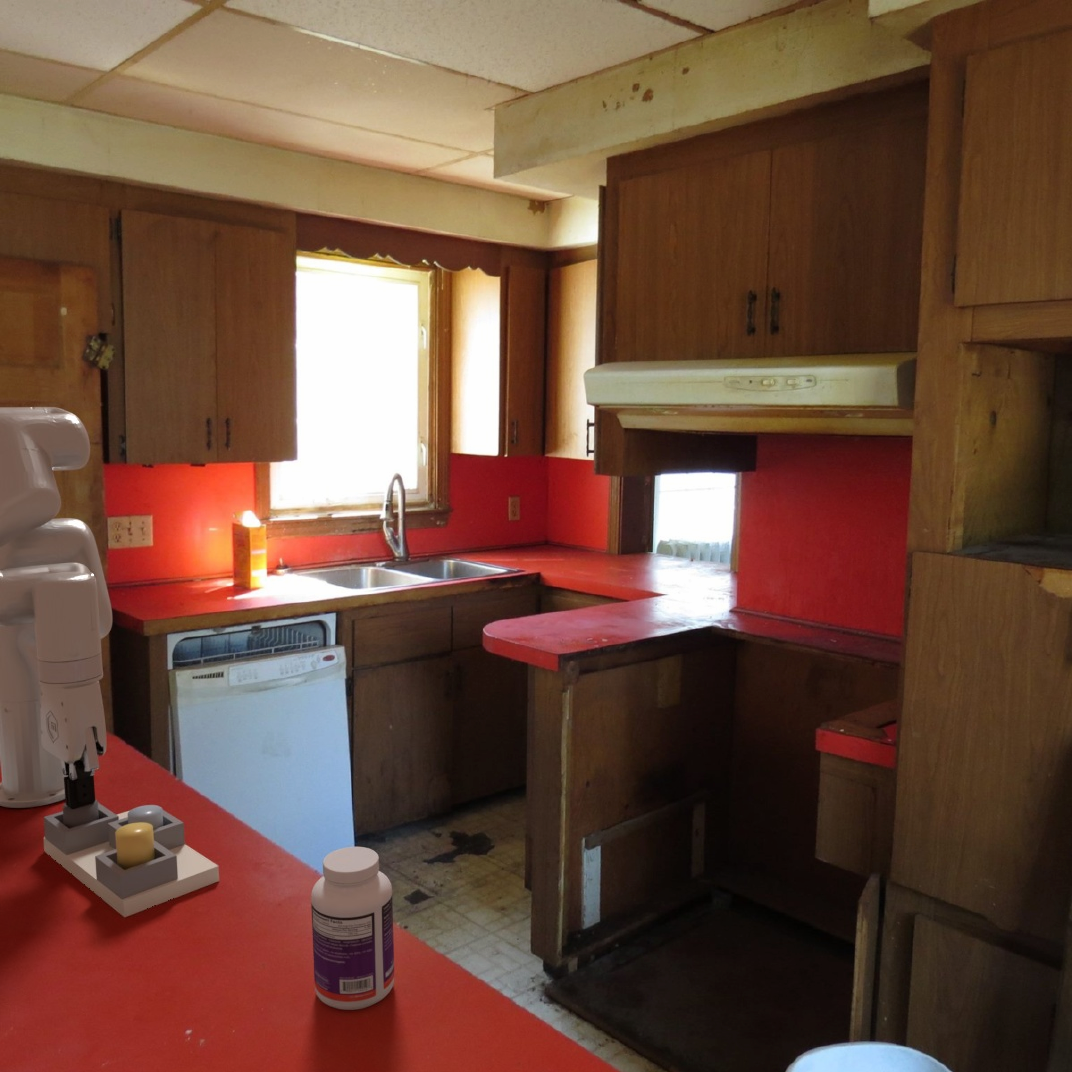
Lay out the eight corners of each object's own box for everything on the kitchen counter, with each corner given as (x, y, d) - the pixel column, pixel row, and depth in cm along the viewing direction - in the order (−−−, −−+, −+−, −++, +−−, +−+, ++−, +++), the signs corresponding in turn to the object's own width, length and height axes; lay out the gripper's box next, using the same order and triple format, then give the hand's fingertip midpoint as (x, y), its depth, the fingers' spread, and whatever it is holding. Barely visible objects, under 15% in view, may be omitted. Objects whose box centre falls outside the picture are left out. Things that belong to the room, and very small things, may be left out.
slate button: (123, 841, 130) (121, 811, 130) (154, 830, 133) (153, 802, 133) (138, 851, 128) (136, 821, 127) (169, 840, 131) (168, 811, 130)
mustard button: (111, 861, 121) (109, 830, 121) (145, 849, 124) (143, 819, 124) (126, 873, 118) (124, 841, 118) (161, 861, 121) (159, 829, 121)
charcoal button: (59, 833, 132) (57, 804, 132) (91, 823, 135) (89, 794, 135) (72, 843, 129) (70, 813, 129) (105, 832, 132) (103, 803, 132)
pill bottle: (359, 959, 108) (355, 833, 106) (411, 987, 103) (408, 855, 101) (298, 994, 102) (293, 861, 100) (350, 1026, 97) (345, 886, 95)
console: (44, 851, 133) (41, 815, 132) (132, 823, 142) (130, 789, 141) (124, 917, 117) (121, 877, 116) (219, 880, 125) (217, 843, 124)
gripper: (18, 664, 131) (29, 797, 134) (64, 686, 121) (74, 830, 124) (76, 653, 137) (86, 781, 139) (125, 673, 127) (134, 812, 129)
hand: (80, 804), depth 132 cm, fingers closed
